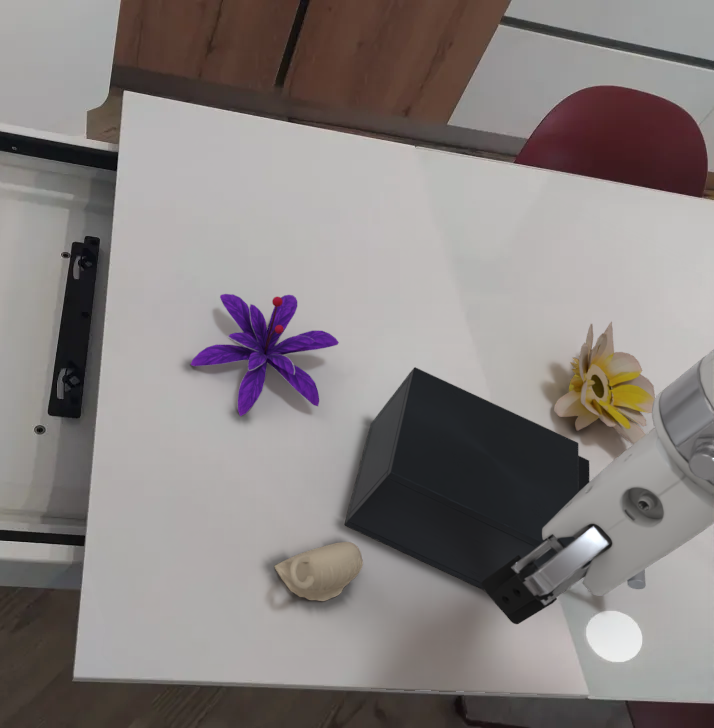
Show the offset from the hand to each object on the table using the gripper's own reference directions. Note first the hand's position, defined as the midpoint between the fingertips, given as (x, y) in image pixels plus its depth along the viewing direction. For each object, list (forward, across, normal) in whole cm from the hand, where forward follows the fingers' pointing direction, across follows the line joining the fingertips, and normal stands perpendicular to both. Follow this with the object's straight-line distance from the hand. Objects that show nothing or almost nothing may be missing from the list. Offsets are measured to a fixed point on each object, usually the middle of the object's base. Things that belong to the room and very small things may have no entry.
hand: (540, 566), depth 50 cm
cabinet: (+16, +10, +8) cm, 21 cm away
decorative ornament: (+16, -6, +10) cm, 19 cm away
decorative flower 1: (+16, +5, +30) cm, 34 cm away
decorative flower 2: (+16, +38, +8) cm, 42 cm away
